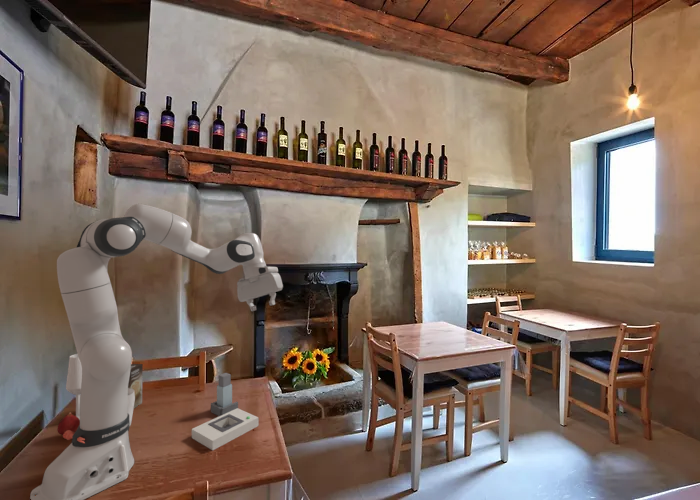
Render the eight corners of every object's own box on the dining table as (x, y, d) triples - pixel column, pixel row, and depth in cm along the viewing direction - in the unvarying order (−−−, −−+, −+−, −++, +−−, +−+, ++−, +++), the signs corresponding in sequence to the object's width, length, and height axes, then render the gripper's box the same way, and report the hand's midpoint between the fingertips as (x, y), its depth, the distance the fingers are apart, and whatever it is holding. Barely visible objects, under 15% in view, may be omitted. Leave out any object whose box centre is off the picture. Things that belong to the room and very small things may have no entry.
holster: (221, 417, 126) (221, 409, 126) (209, 411, 131) (209, 403, 131) (238, 409, 132) (238, 402, 132) (226, 404, 137) (226, 397, 136)
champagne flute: (84, 424, 121) (84, 357, 121) (61, 426, 119) (61, 359, 119) (93, 415, 127) (93, 351, 127) (72, 417, 125) (72, 353, 125)
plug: (223, 414, 129) (223, 377, 129) (216, 411, 131) (216, 375, 131) (232, 410, 132) (232, 374, 132) (225, 407, 134) (226, 372, 134)
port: (212, 450, 106) (212, 439, 106) (191, 437, 113) (191, 427, 112) (258, 425, 120) (258, 416, 120) (237, 416, 127) (237, 407, 127)
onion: (56, 443, 109) (56, 419, 109) (58, 435, 114) (58, 411, 113) (79, 437, 112) (79, 413, 112) (80, 430, 117) (80, 407, 117)
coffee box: (127, 413, 128) (127, 371, 128) (110, 413, 129) (110, 371, 129) (143, 402, 138) (143, 363, 138) (127, 402, 138) (127, 363, 138)
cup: (119, 435, 114) (119, 400, 114) (97, 432, 116) (97, 397, 115) (141, 422, 123) (141, 389, 122) (120, 419, 124) (120, 386, 124)
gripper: (230, 280, 134) (237, 314, 132) (270, 266, 126) (278, 302, 124) (242, 279, 140) (248, 312, 138) (281, 266, 132) (288, 301, 129)
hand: (263, 307), depth 131 cm, fingers open, 8 cm apart
